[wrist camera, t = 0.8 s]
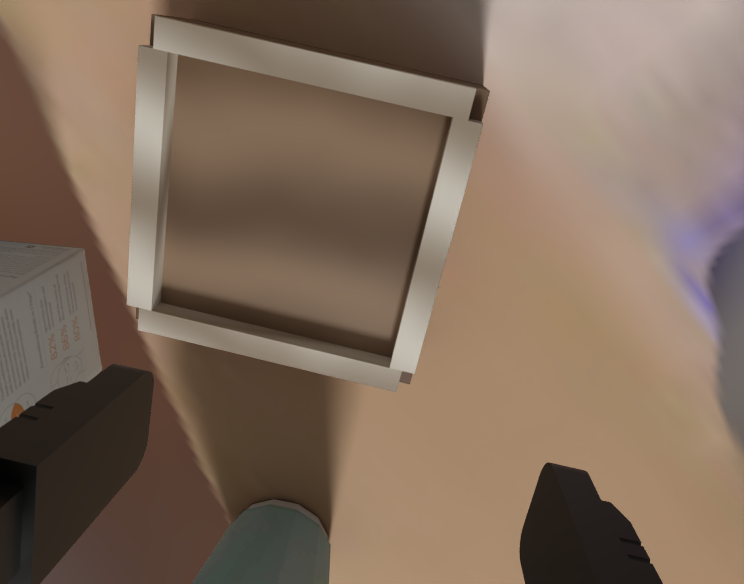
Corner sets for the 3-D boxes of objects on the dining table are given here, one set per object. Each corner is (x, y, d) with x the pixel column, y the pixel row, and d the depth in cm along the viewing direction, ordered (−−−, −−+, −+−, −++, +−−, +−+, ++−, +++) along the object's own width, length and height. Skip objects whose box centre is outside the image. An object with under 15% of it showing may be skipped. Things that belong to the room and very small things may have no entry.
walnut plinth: (190, 19, 27) (139, 12, 23) (483, 85, 27) (491, 92, 22) (170, 288, 33) (125, 327, 28) (413, 346, 33) (408, 395, 28)
